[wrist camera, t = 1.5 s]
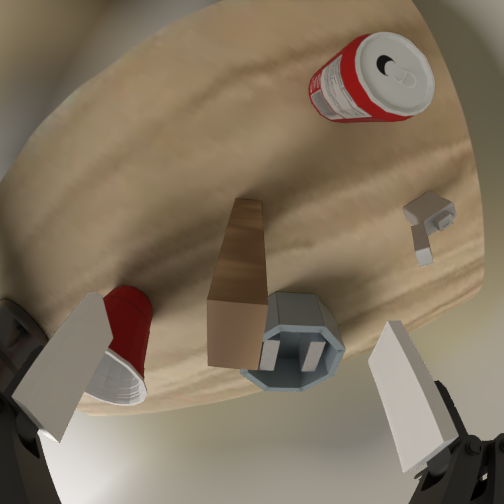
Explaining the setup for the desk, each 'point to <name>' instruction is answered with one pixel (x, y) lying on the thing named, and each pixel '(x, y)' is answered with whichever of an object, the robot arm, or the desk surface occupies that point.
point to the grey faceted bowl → (290, 328)
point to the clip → (307, 350)
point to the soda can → (373, 81)
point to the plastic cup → (123, 349)
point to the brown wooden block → (239, 292)
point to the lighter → (428, 222)
